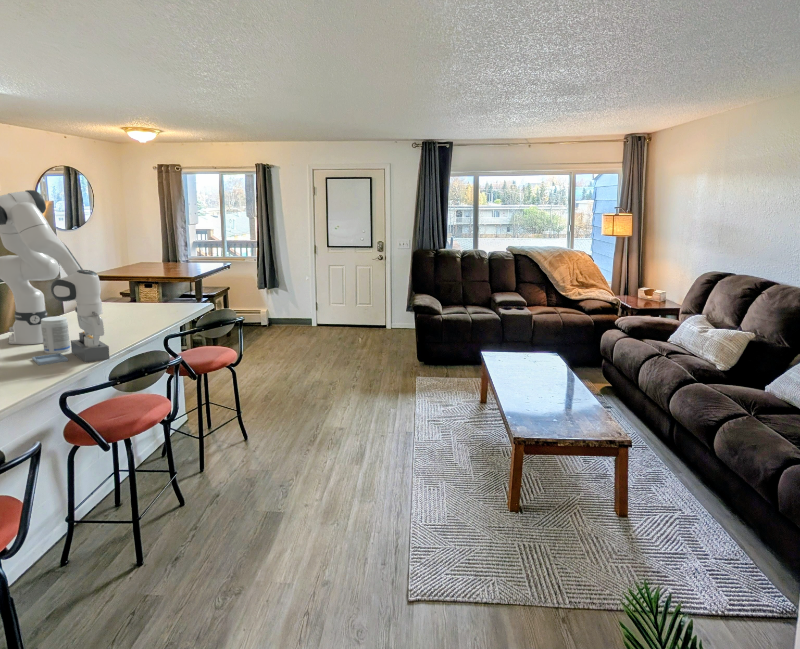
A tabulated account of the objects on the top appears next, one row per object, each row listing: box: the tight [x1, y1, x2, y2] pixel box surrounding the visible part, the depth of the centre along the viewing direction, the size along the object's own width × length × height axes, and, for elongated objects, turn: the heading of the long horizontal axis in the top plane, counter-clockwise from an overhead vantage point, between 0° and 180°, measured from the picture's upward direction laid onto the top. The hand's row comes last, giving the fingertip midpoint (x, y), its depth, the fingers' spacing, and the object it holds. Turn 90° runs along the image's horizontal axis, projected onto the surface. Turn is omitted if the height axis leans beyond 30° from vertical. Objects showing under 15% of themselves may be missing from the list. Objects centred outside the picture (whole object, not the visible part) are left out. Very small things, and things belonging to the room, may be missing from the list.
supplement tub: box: [41, 315, 71, 355], centre depth 228 cm, size 10×10×15 cm
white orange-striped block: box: [84, 335, 98, 348], centre depth 220 cm, size 5×4×8 cm
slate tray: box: [31, 353, 69, 366], centre depth 215 cm, size 10×10×2 cm
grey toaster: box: [70, 331, 110, 363], centre depth 223 cm, size 18×9×10 cm, turn 46°
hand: (92, 342), depth 220 cm, fingers open, 7 cm apart
